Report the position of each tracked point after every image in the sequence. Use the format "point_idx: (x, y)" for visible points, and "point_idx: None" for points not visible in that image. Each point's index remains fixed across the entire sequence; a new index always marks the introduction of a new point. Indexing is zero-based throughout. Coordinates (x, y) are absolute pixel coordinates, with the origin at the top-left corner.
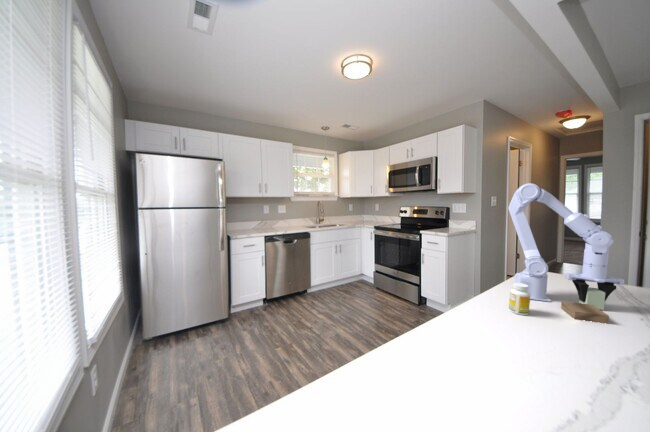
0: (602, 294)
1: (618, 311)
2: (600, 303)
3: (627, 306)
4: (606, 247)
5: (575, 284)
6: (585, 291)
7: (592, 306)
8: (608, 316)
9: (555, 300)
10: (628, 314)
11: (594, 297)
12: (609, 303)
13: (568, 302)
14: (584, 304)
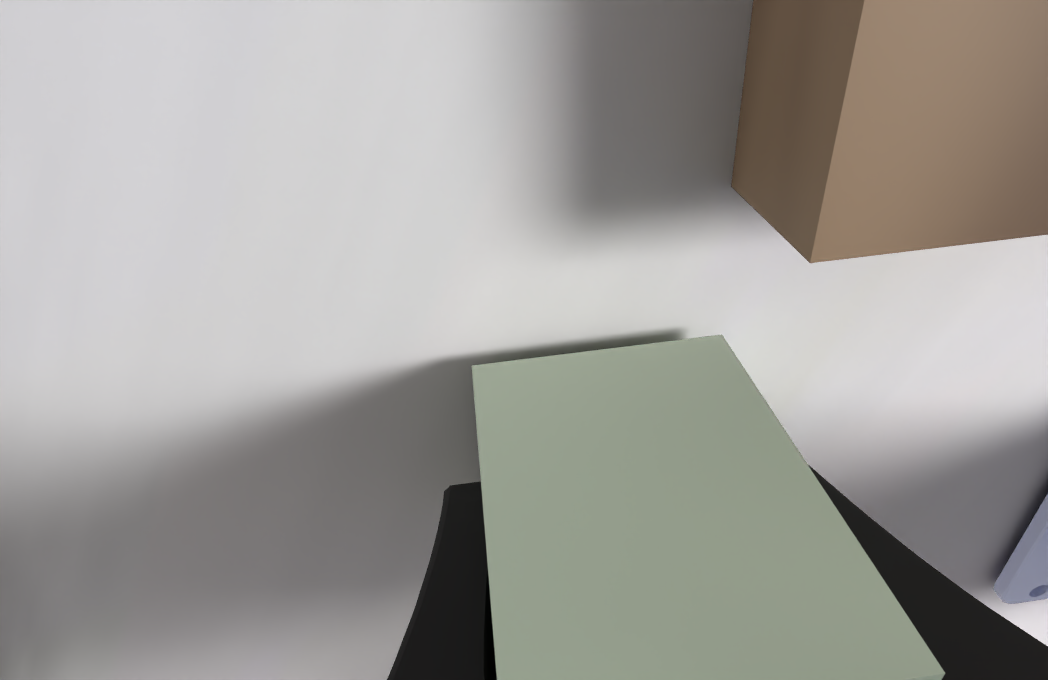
0: (561, 659)
1: (238, 437)
2: (543, 442)
3: (74, 658)
4: None
5: None
6: (949, 648)
7: (894, 128)
8: None
9: (969, 460)
10: (115, 377)
11: (701, 528)
12: (268, 654)
13: None
14: (993, 199)
